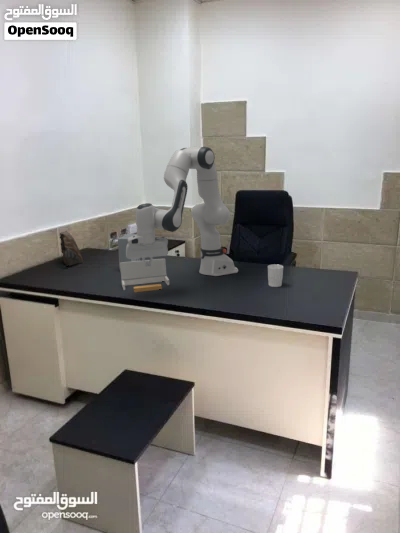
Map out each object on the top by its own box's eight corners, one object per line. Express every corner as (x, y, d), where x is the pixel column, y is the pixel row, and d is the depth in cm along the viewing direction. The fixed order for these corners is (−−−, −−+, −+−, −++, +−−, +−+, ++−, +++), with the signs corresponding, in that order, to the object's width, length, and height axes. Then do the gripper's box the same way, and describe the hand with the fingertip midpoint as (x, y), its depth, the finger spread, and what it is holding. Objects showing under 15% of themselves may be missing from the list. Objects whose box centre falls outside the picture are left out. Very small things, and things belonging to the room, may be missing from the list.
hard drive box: (131, 272, 245) (129, 239, 240) (119, 272, 247) (116, 238, 241) (140, 265, 260) (138, 233, 254) (129, 264, 261) (126, 233, 256)
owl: (67, 266, 262) (63, 234, 256) (55, 263, 270) (52, 232, 264) (84, 261, 271) (80, 231, 266) (72, 259, 279) (69, 229, 274)
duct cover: (166, 275, 226) (165, 274, 228) (165, 258, 225) (164, 258, 226) (121, 279, 220) (121, 279, 222) (120, 262, 219) (119, 262, 220)
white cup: (273, 288, 211) (274, 269, 209) (264, 284, 218) (264, 265, 215) (285, 285, 215) (286, 267, 212) (276, 281, 222) (276, 263, 219)
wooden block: (160, 288, 217) (160, 283, 217) (162, 290, 214) (161, 285, 214) (133, 291, 214) (133, 286, 213) (134, 293, 211) (134, 288, 210)
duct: (166, 280, 228) (166, 275, 227) (169, 285, 220) (169, 279, 219) (121, 285, 222) (121, 280, 221) (123, 290, 214) (123, 284, 213)
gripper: (166, 235, 206) (167, 262, 209) (124, 238, 201) (126, 266, 204) (168, 237, 200) (170, 265, 204) (125, 241, 195) (127, 269, 198)
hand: (147, 266), depth 204 cm, fingers closed
